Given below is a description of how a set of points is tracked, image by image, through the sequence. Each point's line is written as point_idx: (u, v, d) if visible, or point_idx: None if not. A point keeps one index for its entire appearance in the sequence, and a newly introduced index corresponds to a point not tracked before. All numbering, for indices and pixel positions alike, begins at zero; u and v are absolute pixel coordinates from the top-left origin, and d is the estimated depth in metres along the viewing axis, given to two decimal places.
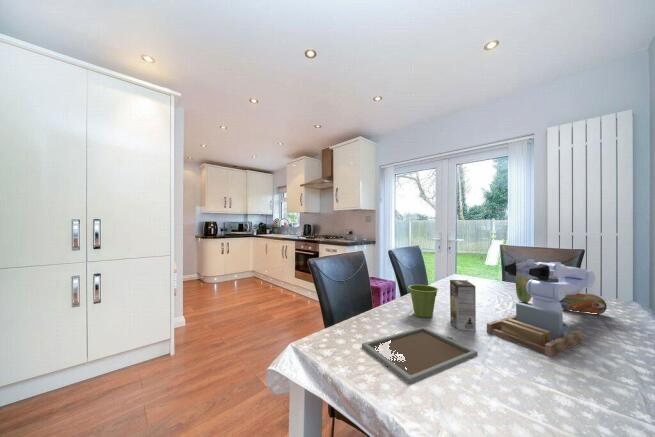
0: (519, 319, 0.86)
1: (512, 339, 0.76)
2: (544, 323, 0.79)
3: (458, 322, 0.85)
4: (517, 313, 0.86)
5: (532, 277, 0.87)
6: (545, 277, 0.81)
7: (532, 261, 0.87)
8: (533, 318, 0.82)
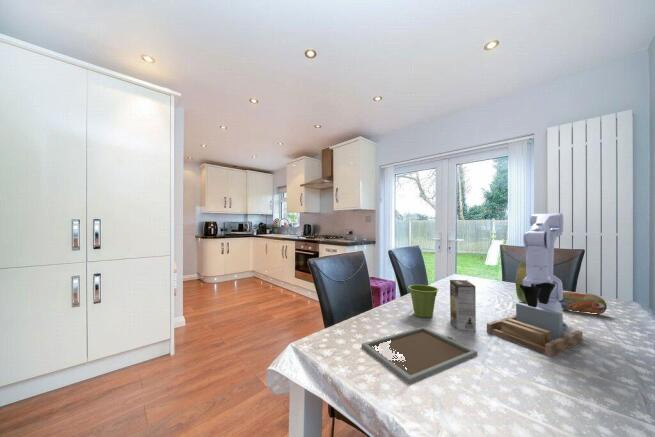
0: (519, 319, 0.86)
1: (512, 339, 0.76)
2: (544, 323, 0.79)
3: (458, 322, 0.85)
4: (517, 313, 0.86)
5: None
6: None
7: None
8: (533, 318, 0.82)
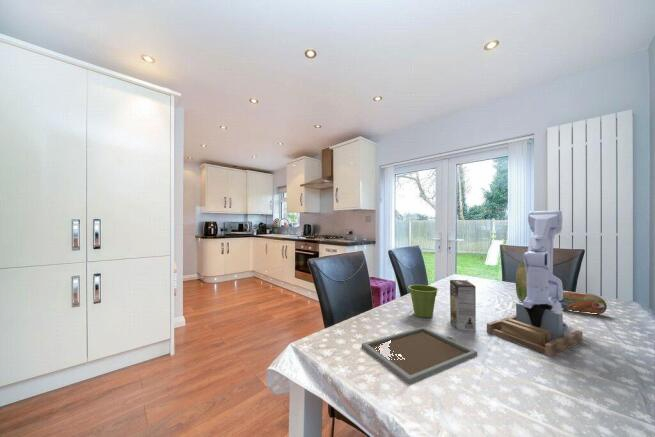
0: (519, 319, 0.86)
1: (512, 339, 0.76)
2: (544, 323, 0.79)
3: (458, 322, 0.85)
4: (517, 313, 0.86)
5: None
6: None
7: None
8: None
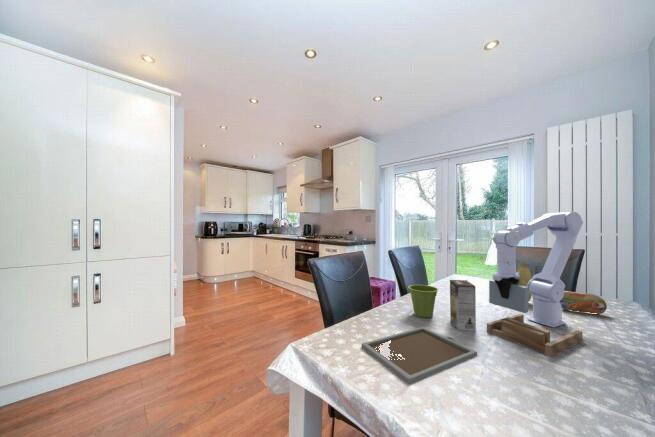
0: (491, 294, 0.94)
1: (512, 339, 0.76)
2: (512, 296, 0.88)
3: (458, 322, 0.85)
4: (490, 289, 0.95)
5: None
6: None
7: (517, 276, 0.88)
8: None
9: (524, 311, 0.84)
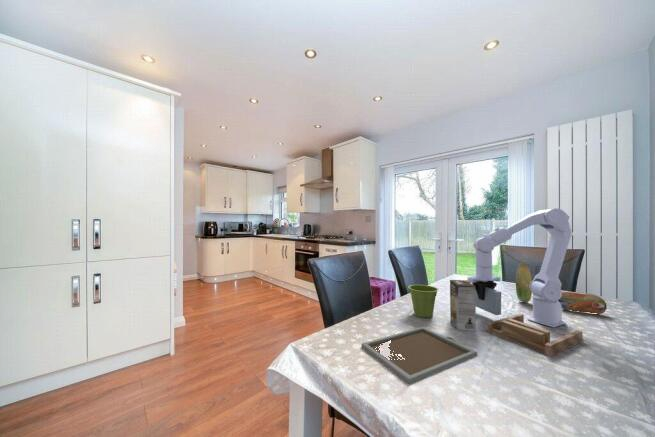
0: None
1: (512, 339, 0.76)
2: (487, 299, 0.95)
3: (458, 322, 0.85)
4: None
5: None
6: None
7: None
8: None
9: (495, 313, 0.92)
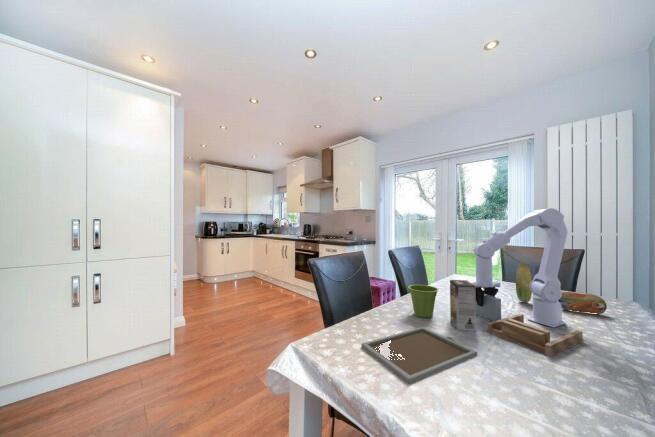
0: None
1: (512, 339, 0.76)
2: (487, 306, 0.95)
3: (458, 322, 0.85)
4: None
5: None
6: None
7: (492, 286, 0.95)
8: None
9: (495, 320, 0.92)
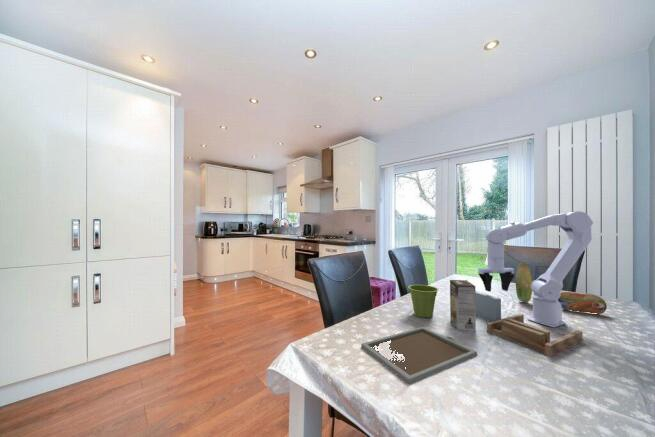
0: None
1: (512, 339, 0.76)
2: (487, 306, 0.95)
3: (458, 322, 0.85)
4: None
5: None
6: None
7: (504, 271, 0.95)
8: (481, 303, 0.98)
9: (495, 320, 0.92)
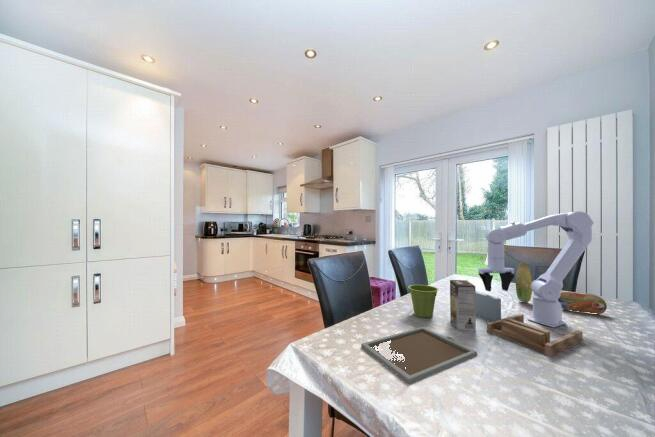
0: None
1: (512, 339, 0.76)
2: (487, 307, 0.95)
3: (458, 322, 0.85)
4: None
5: None
6: None
7: (504, 271, 0.95)
8: (481, 303, 0.98)
9: (495, 320, 0.92)
